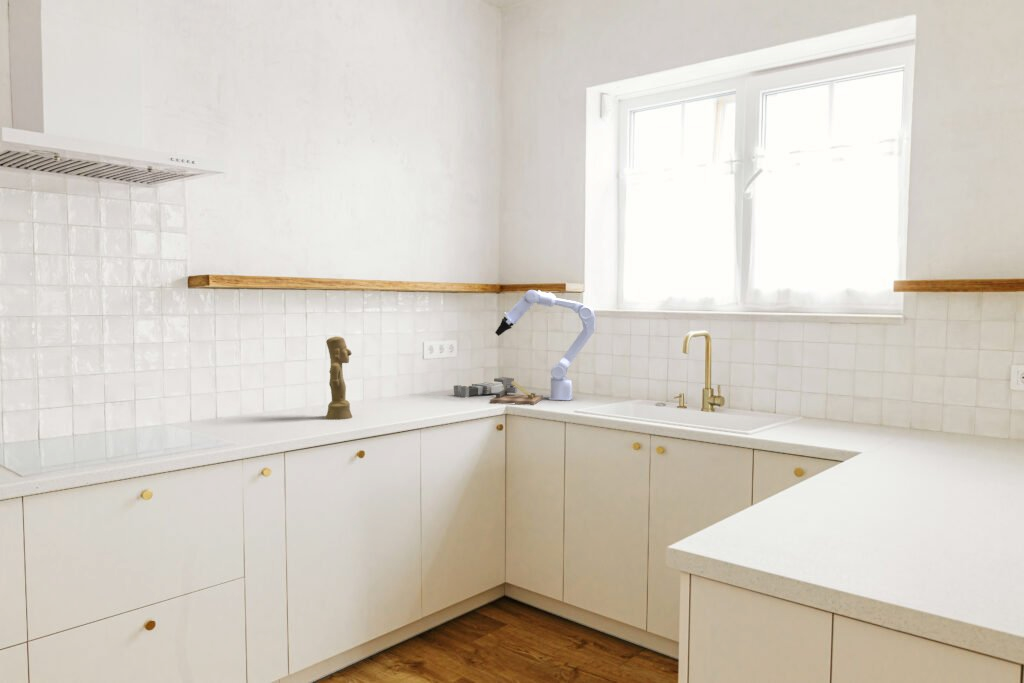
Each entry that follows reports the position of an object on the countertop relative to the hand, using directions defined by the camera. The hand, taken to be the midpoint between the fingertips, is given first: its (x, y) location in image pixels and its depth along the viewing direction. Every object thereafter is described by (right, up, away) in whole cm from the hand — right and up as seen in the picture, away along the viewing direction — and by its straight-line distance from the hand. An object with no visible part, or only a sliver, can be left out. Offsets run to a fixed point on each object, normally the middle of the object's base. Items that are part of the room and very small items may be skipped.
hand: (497, 333), depth 332 cm
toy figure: (-6, -29, +13) cm, 32 cm away
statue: (-58, -32, -58) cm, 88 cm away
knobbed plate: (+6, -26, -2) cm, 27 cm away
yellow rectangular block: (+11, -25, -11) cm, 29 cm away
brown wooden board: (+9, -30, -10) cm, 32 cm away
